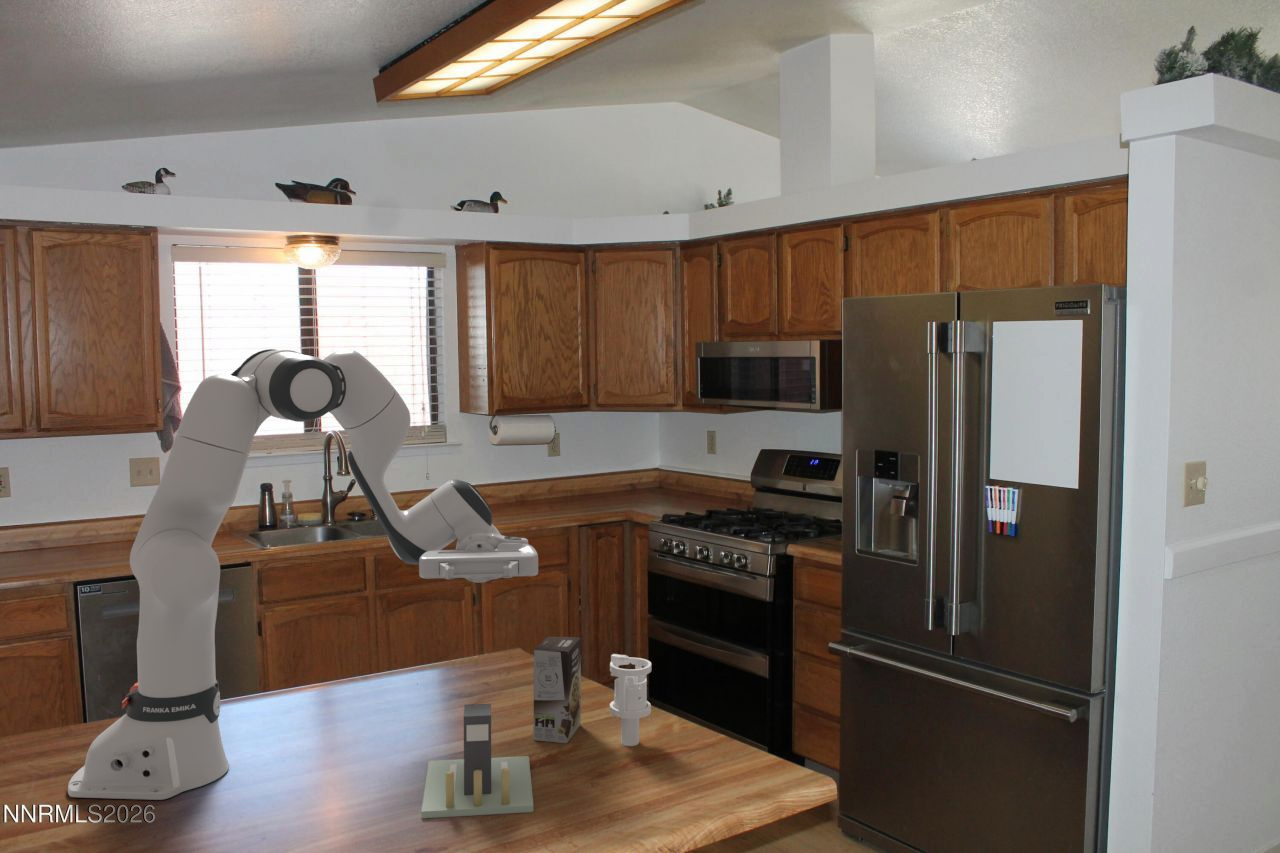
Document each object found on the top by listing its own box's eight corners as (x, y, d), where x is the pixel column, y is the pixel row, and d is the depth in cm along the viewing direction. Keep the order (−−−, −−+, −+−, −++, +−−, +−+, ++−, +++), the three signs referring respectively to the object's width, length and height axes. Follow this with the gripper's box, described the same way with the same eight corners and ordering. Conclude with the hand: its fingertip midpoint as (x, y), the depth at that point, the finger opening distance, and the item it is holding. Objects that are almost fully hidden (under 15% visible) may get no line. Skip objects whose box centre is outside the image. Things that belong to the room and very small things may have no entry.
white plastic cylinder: (620, 732, 179) (621, 648, 178) (657, 739, 176) (658, 654, 175) (602, 746, 173) (602, 659, 172) (639, 753, 170) (640, 665, 169)
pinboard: (421, 818, 146) (421, 777, 146) (428, 766, 164) (428, 730, 163) (533, 811, 148) (533, 772, 148) (528, 761, 166) (528, 726, 166)
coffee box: (568, 744, 174) (568, 651, 172) (532, 741, 175) (532, 649, 174) (582, 724, 183) (582, 636, 181) (547, 722, 184) (547, 634, 183)
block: (464, 795, 151) (463, 717, 150) (464, 780, 156) (464, 704, 155) (491, 794, 152) (491, 715, 151) (491, 779, 157) (491, 703, 156)
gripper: (420, 540, 181) (414, 556, 167) (536, 537, 183) (539, 553, 170) (420, 575, 181) (414, 594, 167) (536, 572, 184) (539, 590, 170)
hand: (478, 573), depth 169 cm, fingers open, 8 cm apart
